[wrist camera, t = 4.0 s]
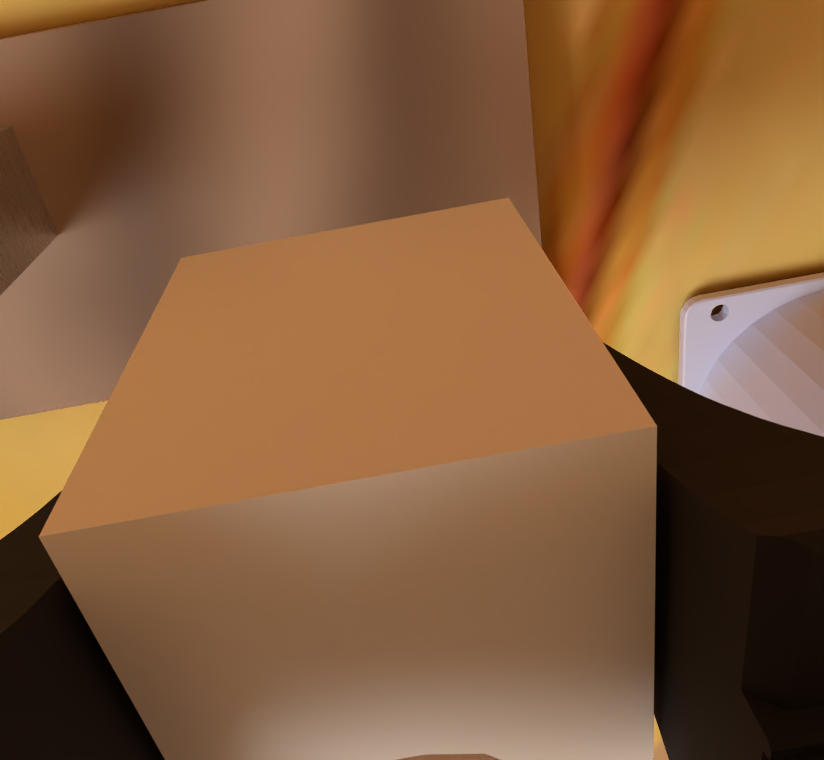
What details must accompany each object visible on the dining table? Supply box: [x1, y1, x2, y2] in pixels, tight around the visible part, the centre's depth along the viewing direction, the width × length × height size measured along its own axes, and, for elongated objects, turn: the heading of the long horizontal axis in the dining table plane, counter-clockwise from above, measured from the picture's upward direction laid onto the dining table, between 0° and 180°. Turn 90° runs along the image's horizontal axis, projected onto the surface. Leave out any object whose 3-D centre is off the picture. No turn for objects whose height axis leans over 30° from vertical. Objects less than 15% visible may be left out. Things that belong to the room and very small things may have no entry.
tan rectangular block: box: [39, 198, 657, 760], centre depth 11 cm, size 5×5×7 cm
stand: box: [0, 0, 542, 420], centre depth 19 cm, size 18×9×1 cm, turn 99°
